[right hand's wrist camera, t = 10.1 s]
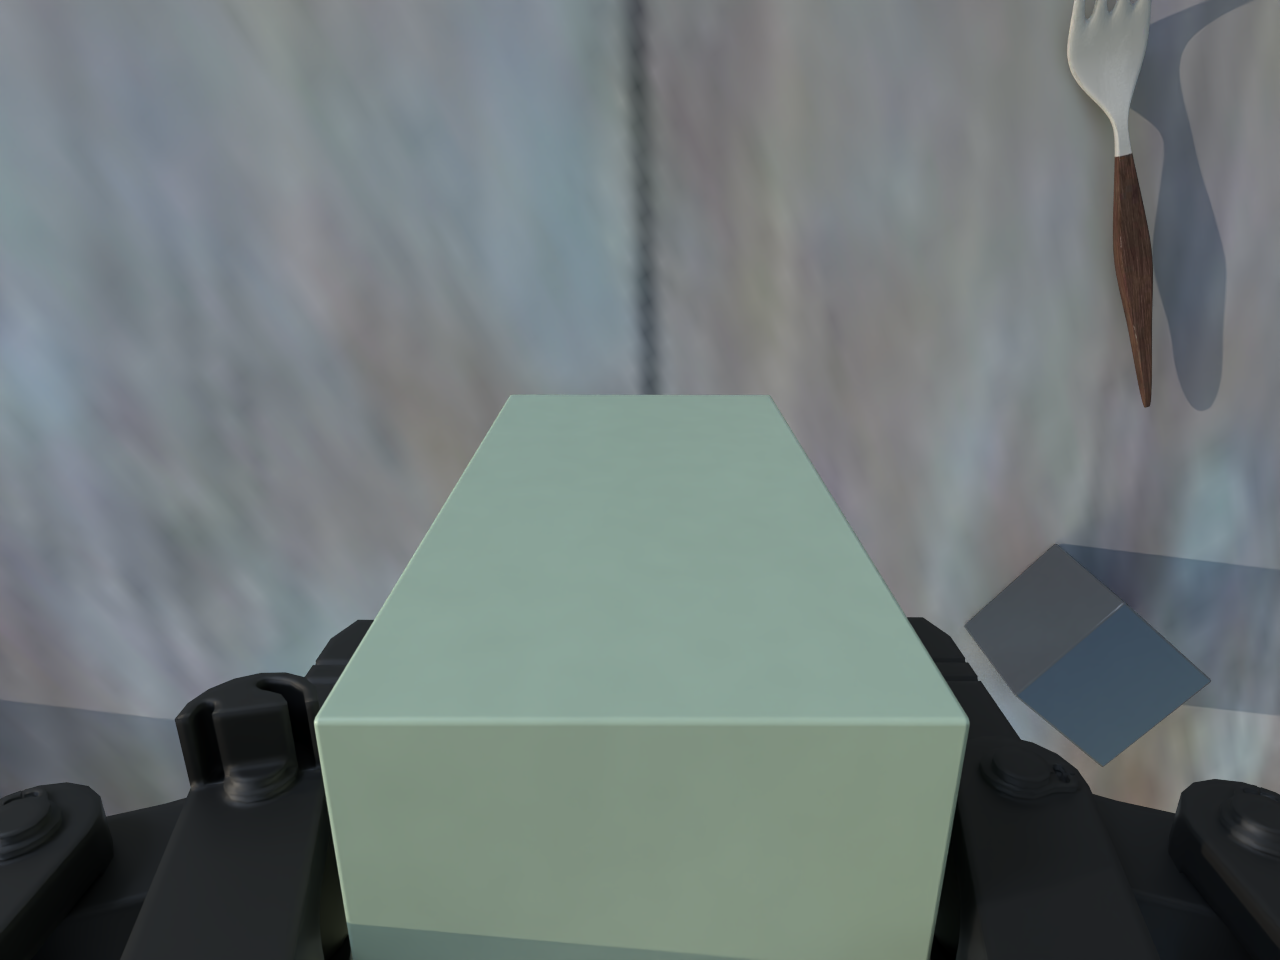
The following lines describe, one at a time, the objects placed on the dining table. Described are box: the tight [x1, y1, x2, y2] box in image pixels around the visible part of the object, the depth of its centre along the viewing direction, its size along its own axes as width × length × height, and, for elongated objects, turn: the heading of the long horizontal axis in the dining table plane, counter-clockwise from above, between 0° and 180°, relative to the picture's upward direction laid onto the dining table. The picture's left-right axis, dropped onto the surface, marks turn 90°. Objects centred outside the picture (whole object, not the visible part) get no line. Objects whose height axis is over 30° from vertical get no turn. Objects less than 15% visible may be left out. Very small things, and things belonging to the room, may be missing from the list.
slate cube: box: [964, 544, 1211, 767], centre depth 32 cm, size 5×5×5 cm
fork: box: [1067, 0, 1153, 408], centre depth 27 cm, size 3×16×2 cm, turn 17°
